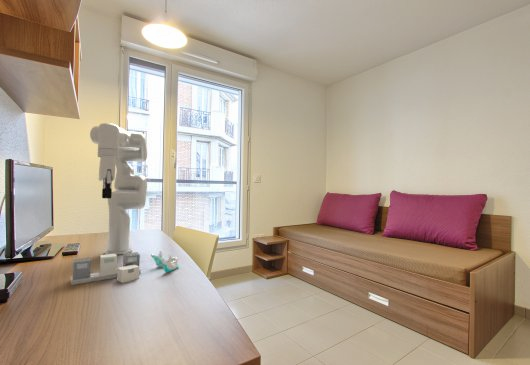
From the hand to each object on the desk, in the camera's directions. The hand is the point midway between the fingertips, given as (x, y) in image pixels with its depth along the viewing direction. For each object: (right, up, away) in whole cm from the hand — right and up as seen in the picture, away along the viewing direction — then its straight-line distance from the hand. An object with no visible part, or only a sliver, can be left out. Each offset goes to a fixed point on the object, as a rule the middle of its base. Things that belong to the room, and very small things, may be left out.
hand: (106, 198), depth 108 cm
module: (+6, -28, -10) cm, 30 cm away
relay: (+15, -29, -12) cm, 35 cm away
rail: (+6, -29, -10) cm, 31 cm away
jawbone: (+24, -30, +2) cm, 39 cm away
